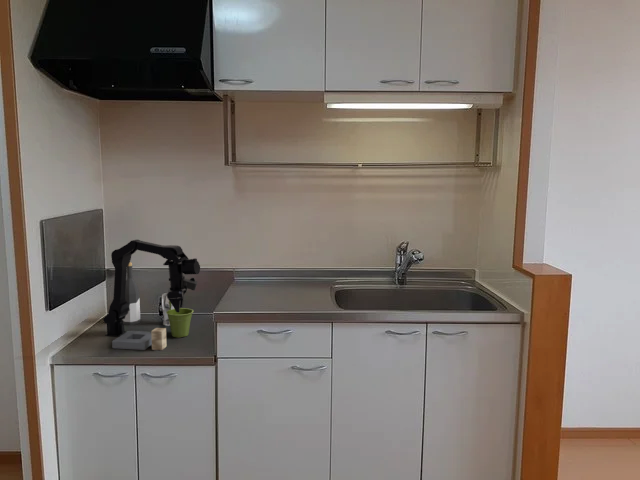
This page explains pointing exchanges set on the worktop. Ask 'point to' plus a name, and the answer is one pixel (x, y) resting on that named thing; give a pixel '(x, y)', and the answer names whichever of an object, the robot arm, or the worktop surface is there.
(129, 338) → the socket block
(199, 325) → the worktop surface
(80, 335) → the worktop surface
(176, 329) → the plant pot
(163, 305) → the beer glass
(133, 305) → the wine bottle
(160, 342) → the maple peg
